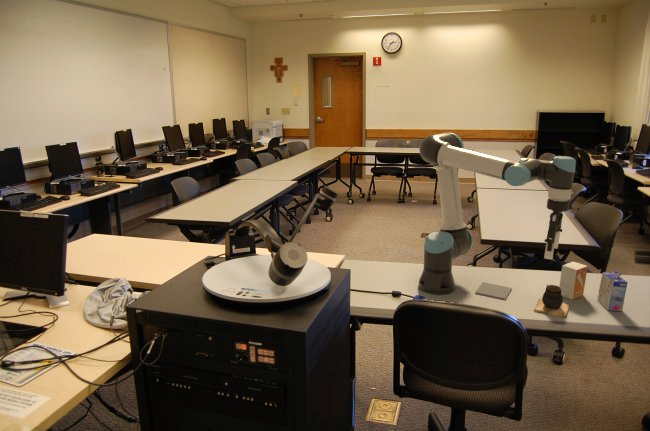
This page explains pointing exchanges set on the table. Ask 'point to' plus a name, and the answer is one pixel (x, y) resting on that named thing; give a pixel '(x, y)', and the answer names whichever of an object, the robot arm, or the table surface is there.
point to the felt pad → (493, 290)
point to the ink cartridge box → (612, 291)
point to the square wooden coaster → (557, 312)
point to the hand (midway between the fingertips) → (551, 253)
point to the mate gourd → (552, 297)
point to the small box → (573, 280)
